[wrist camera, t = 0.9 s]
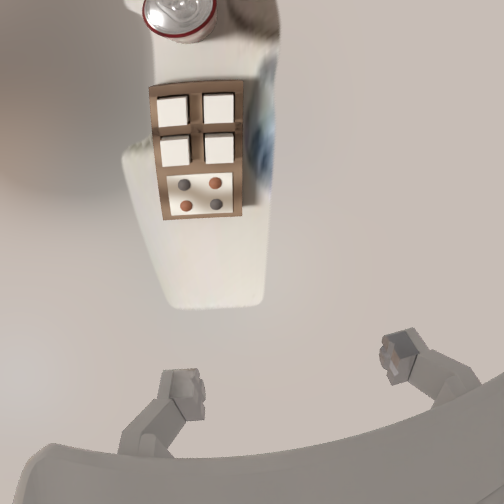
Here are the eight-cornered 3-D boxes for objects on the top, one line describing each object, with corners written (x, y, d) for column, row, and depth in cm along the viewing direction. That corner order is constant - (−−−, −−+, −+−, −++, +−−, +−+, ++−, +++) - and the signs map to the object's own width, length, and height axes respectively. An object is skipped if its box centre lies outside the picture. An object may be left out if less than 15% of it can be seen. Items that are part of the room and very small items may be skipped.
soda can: (228, 13, 29) (232, -6, 19) (195, 53, 32) (186, 50, 22) (183, -11, 26) (171, -36, 16) (151, 29, 29) (126, 19, 19)
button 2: (160, 97, 33) (156, 100, 31) (187, 95, 34) (185, 97, 32) (162, 123, 35) (158, 127, 33) (188, 121, 36) (186, 124, 34)
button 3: (205, 133, 37) (204, 138, 35) (232, 132, 38) (233, 136, 36) (206, 157, 39) (205, 163, 37) (232, 156, 40) (233, 162, 38)
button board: (153, 85, 34) (148, 87, 31) (241, 79, 35) (243, 81, 32) (165, 210, 46) (162, 221, 43) (240, 206, 47) (242, 217, 44)
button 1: (163, 136, 37) (159, 141, 35) (189, 134, 37) (187, 139, 35) (165, 160, 39) (162, 166, 37) (190, 158, 39) (189, 164, 37)
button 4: (204, 94, 34) (203, 96, 32) (232, 93, 34) (233, 95, 32) (205, 119, 36) (204, 123, 34) (232, 118, 36) (233, 122, 34)
